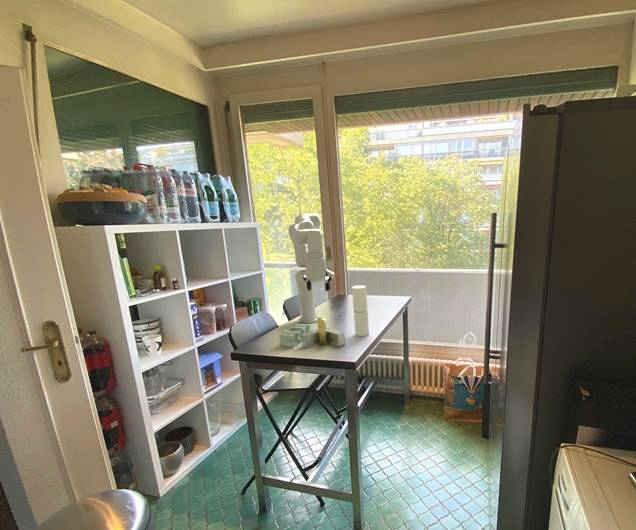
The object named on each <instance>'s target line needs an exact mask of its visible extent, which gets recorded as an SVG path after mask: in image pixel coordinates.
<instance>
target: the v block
mask: <svg viewBox="0 0 636 530" xmlns="http://www.w3.org/2000/svg"><path fill="white" fill-rule="evenodd" d="M326 331H327V343H328V344H330V345H332V346H335V347H339V348H340V347H342V346H344V345H346V338H345V337H346V336H345V332H344V331H341V330H338V329H334V328H330V327H326ZM301 341H302V342H301V346H302V347H303V348H305V347H306V348H305V349H308V348H311V347H313V346H316V345H319V333H318V328H315V329H313V330H311V331H309V332H306V333H303V334H301Z"/></svg>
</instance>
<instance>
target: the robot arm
mask: <svg viewBox="0 0 636 530" xmlns="http://www.w3.org/2000/svg"><path fill="white" fill-rule="evenodd" d="M321 221H322V220H321V217H320V215H319V214H318V213H316V212H315V213H314V212H313V213H301V214H298V215H297V216H296V217H295V219H294V223H292V224H290V225H289V226H288V235H289V238H290V241H291V242H292V244H293V245H292V246H293V248H294V249H293V250H294V256H295V262H296V266H297V268H300V269H302V270H298V271H296V273H295V278H294V279H295V282H296V287H297V293H298V301H299V302H298V304H299V315H300V317H299V318H298V321H299V322H298V323H300V322H301V323H300V324H312V323H316V322H317V319H318V318H319V317H318V316H317V314H319V312H318V310H316V301H315V292H314V290H313V289H312V288H313V285H315V286H316V285H321V284H323V283H324V281H325V283H324V286H325V287H324V289H325V291H326V292H328V291H330V290H331V284H330V282H331V281H332V279H334V275H335V273H334V272H333V271H331V270H329V269H328V266H327V265H328V264H327V260H326V258H325V255H324V245H323V243H324V242H323V231H322V230H321V228H320V227H321V225H322V224H321Z"/></svg>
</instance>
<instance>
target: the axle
mask: <svg viewBox="0 0 636 530" xmlns="http://www.w3.org/2000/svg"><path fill="white" fill-rule="evenodd" d="M316 322H317V329H318V333H319V344H318V345H319V346H321V347H325V346H328V344H329V343H327V331H326V328H327V321H326V317H318V319H317V321H316Z"/></svg>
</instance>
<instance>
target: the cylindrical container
mask: <svg viewBox="0 0 636 530" xmlns="http://www.w3.org/2000/svg"><path fill="white" fill-rule="evenodd" d="M351 291H352V293H351V294H352V303H353V304H352V305H353V318H354V319H353V320H354V321H353V322H354V333H355V334H354V335H355V336H357V337H367V336H368V335H370V328H369V327H370V325H369V313H368V297H367V286H366V285H353V286H352V287H351Z"/></svg>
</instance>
